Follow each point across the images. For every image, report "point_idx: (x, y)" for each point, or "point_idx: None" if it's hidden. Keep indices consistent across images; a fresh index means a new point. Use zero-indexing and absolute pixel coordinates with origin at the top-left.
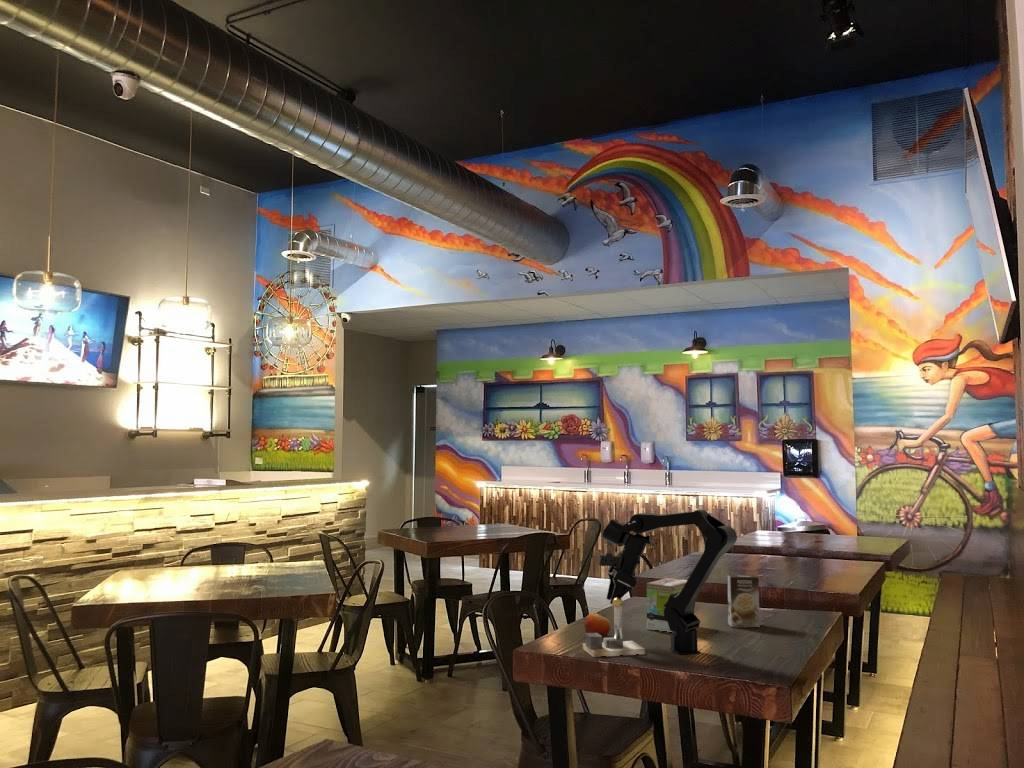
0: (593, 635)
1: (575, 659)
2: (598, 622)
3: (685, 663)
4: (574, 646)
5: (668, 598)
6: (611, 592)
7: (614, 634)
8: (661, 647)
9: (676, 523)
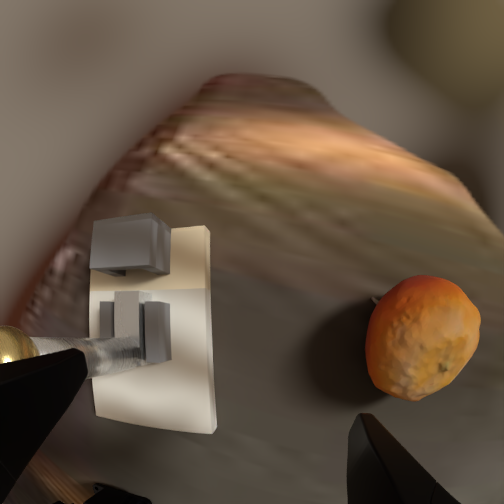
0: (110, 237)
1: (102, 188)
2: (376, 334)
3: None
4: (254, 209)
5: None
6: (366, 482)
7: (119, 337)
8: (183, 496)
9: None
